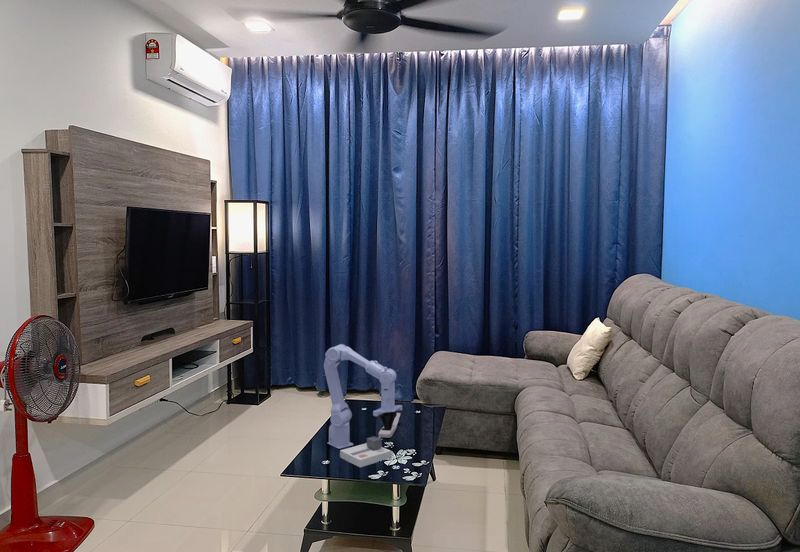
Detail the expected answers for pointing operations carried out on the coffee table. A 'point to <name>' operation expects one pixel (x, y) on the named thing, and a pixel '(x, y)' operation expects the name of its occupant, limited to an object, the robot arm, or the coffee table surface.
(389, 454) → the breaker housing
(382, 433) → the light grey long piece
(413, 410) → the coffee table surface
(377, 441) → the switch lever
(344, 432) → the robot arm
